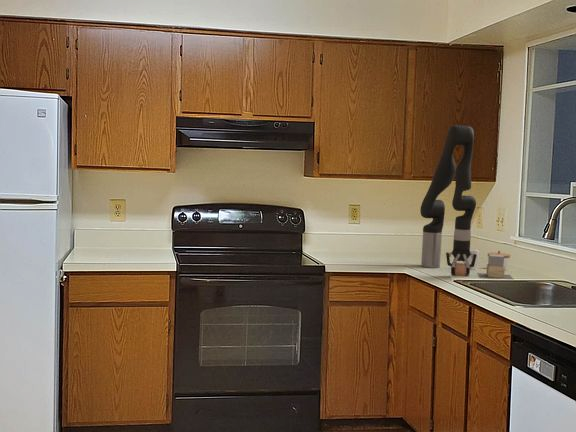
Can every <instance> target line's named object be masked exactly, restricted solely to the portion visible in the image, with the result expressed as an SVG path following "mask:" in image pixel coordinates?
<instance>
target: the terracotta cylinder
mask: <svg viewBox="0 0 576 432" xmlns="http://www.w3.org/2000/svg"><path fill="white" fill-rule="evenodd" d="M454 267H455V270H454V275H453V276H459V277H460V276H461V277H465V276H466V264H465V263H463V262H456V264H455V266H454Z"/></svg>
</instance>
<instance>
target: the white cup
mask: <svg viewBox="0 0 576 432" xmlns="http://www.w3.org/2000/svg"><path fill="white" fill-rule="evenodd" d="M470 253H472V254H476V255H477V256H476V260H475V264H474V267H471V268H470V271H471V270H473V271H476V270H478V269H479V263H480V255H481V254H480V253H481V250H480V249H476V248H470ZM467 260H468V263H469V265H470V264H471V262H472V258H471V255H470V256H469V258H468V259H467ZM462 263H465V261H462ZM465 264H466V263H465ZM466 268H467V266H466Z"/></svg>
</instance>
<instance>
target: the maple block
mask: <svg viewBox="0 0 576 432" xmlns="http://www.w3.org/2000/svg"><path fill="white" fill-rule="evenodd" d="M505 270H506V269H505V267H504V266H503V267H500V266H490V265H489V264H488V263H487V264H486V275H487V276H488V277H499V278H504V275H505Z"/></svg>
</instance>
